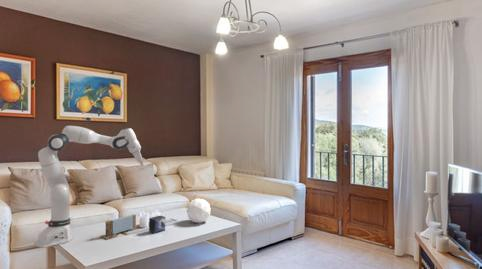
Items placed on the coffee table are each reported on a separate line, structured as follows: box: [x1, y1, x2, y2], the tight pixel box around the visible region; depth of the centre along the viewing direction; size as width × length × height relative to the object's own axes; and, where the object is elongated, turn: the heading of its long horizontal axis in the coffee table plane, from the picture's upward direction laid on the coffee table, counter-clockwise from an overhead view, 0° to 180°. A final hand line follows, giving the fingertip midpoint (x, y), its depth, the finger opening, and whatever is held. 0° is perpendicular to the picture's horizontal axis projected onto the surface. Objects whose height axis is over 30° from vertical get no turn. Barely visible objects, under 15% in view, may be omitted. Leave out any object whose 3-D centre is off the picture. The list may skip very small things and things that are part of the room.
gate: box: [110, 214, 137, 235], centre depth 242 cm, size 20×2×10 cm, turn 146°
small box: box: [148, 215, 166, 235], centre depth 246 cm, size 11×6×10 cm, turn 143°
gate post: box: [99, 220, 118, 241], centre depth 232 cm, size 8×8×11 cm
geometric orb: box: [186, 198, 212, 224], centre depth 270 cm, size 19×20×20 cm
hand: (142, 164), depth 251 cm, fingers open, 8 cm apart
